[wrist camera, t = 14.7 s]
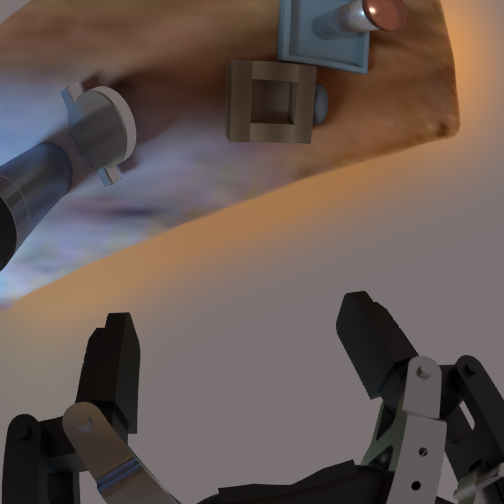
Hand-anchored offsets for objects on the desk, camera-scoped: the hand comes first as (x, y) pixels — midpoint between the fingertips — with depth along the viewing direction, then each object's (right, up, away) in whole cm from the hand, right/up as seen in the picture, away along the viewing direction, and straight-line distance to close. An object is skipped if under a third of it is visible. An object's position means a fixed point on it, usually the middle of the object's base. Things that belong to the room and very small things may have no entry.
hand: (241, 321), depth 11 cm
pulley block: (+3, +23, +26) cm, 35 cm away
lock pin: (+10, +33, +20) cm, 40 cm away
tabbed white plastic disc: (-19, +20, +23) cm, 36 cm away
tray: (+10, +34, +21) cm, 41 cm away
